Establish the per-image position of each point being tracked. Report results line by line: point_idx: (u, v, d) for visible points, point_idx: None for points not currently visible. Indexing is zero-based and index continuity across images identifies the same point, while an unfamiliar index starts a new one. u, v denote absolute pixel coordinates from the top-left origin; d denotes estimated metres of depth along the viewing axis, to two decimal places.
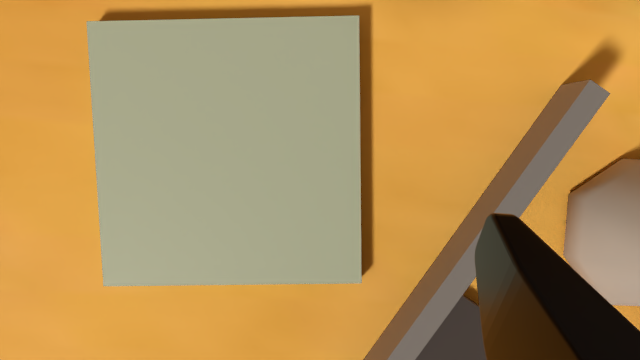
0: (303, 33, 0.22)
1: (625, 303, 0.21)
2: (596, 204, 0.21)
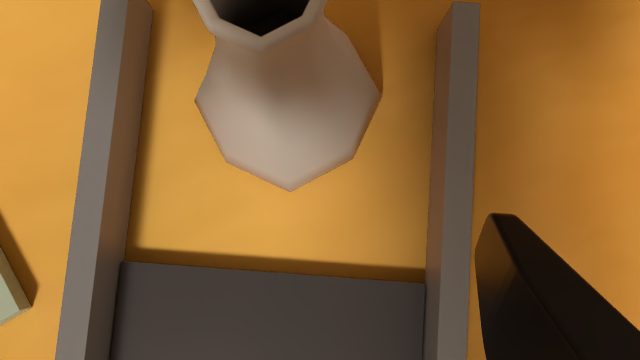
0: None
1: (283, 168, 0.18)
2: (199, 89, 0.19)
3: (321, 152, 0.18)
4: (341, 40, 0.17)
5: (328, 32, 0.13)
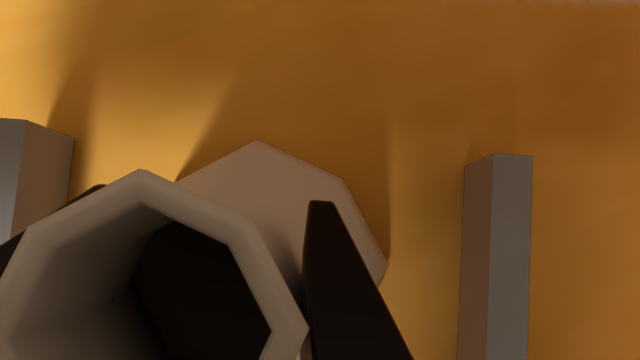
0: None
1: None
2: None
3: None
4: None
5: None
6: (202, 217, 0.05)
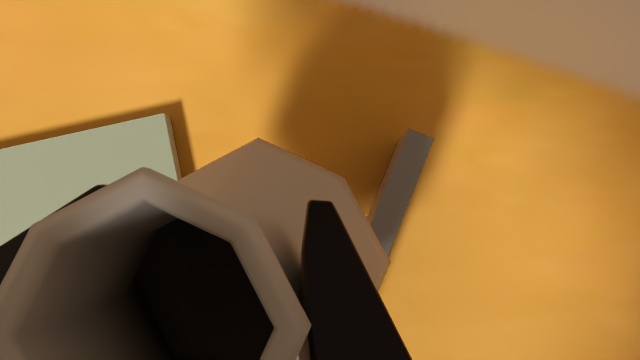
0: (108, 142, 0.20)
1: None
2: None
3: None
4: None
5: None
6: (204, 215, 0.05)
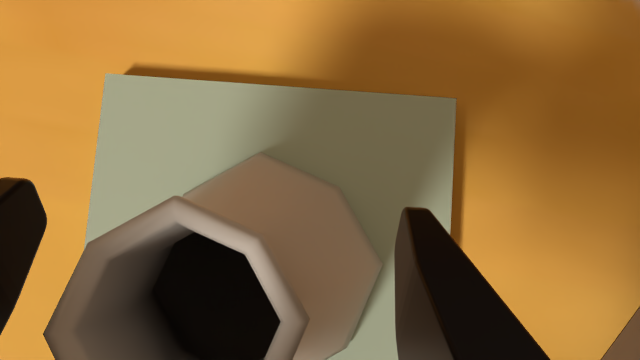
0: (383, 113, 0.17)
1: None
2: None
3: None
4: (327, 232, 0.13)
5: (304, 298, 0.09)
6: (224, 233, 0.06)
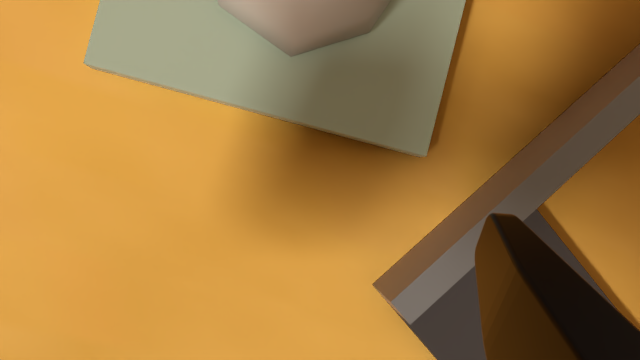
0: None
1: (294, 18, 0.15)
2: None
3: (340, 9, 0.15)
4: None
5: None
6: None
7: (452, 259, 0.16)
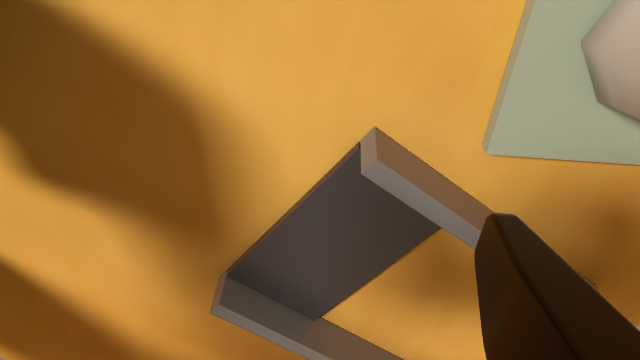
0: None
1: (622, 59, 0.17)
2: None
3: (625, 92, 0.18)
4: None
5: None
6: None
7: (413, 192, 0.21)
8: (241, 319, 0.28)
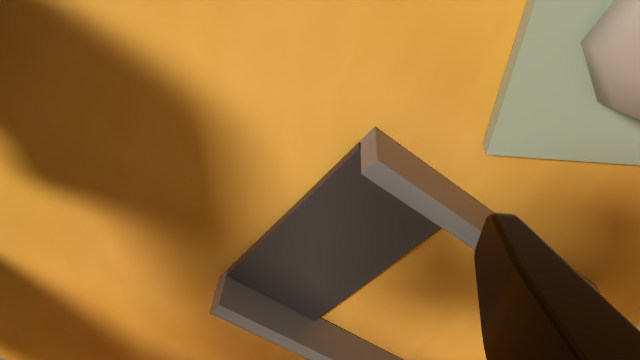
0: None
1: (622, 60, 0.17)
2: None
3: (625, 92, 0.18)
4: None
5: None
6: None
7: (413, 193, 0.21)
8: (241, 319, 0.28)
